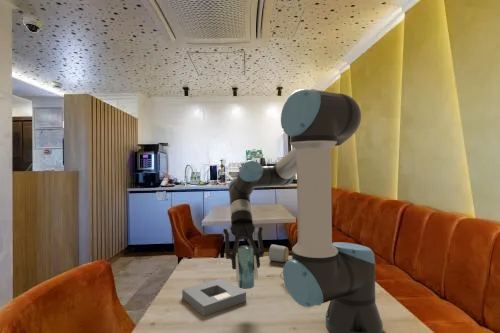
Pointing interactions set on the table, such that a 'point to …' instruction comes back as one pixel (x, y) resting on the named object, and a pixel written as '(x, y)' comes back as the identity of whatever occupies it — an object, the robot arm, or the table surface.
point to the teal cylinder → (246, 267)
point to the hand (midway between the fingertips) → (247, 277)
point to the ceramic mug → (278, 253)
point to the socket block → (208, 305)
